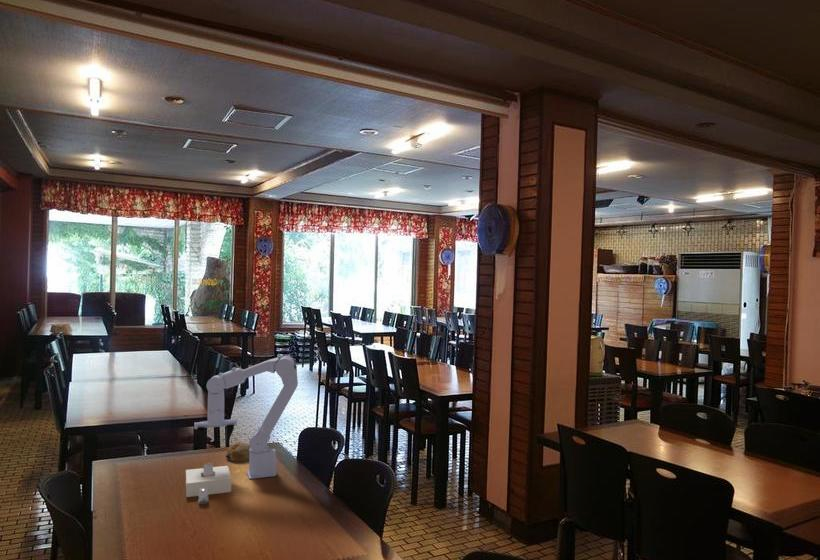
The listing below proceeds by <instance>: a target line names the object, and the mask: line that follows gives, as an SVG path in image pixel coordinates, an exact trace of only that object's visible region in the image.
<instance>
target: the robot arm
mask: <svg viewBox="0 0 820 560" xmlns="http://www.w3.org/2000/svg"><path fill="white" fill-rule="evenodd" d="M266 372H268V373H270V374H275V373H276V374H277V375H278V377H280V379H281V382H282V384H283V386H282V388H281V390H280V392H279V394H278V395H277V397H276V399H275V400H274V402H273V404H272V406H271V408H270V409H269V410H268V413H267V414H266V417H265V418H264V420H263V422H262V424H261V425H260V427H259V428H258V429H256V430H255V431H254V432H253V434H252V437H251V438H250V439H249V442H248V444H249V447H250V449H249V460H248V462H249V463H248V464H249V467H248V468H249V470H247V471H246V473H247V476H248V478H249V479H260V478H269V477H270V478H271V477H276V476H277V451H276V448H270V445H269V444H268V443H270V439H271V434H272V432H273V430H274V429H275V427H276V425H277V423H278V422H279V420H280V418H281V416H282V414H283V413H284V410H285V409H286V408H287V405H288V404H289V402H290V400H291V399H292V397H293V395H294V394H295V393H294V392H296V390H297V388H298V384H299V381H298V380H299V379H298V366H297V363H296V361H295V360H294V358H293V356H291V355H283V356H280V357H279V356H278V357H274V358H271V359H270V358H269V359H268V360H265V361H262V362H260V363H257V364H254V365H251V366H250V367H247V368H245V369H243V368H241V367H235V366H234V367H231V370H229V371H226V372H220V373H218V374H217V375H213V376H212V377H211V378H210V379H208V380H207V382H206V385H205V386H206V389H207V420H203V421H199V422H198V421H197V422H195V421H194V425H193V426H194V430H197V433H198V435H199V438H200V439H201V442H202V449H203V450H205V449H206V428H208V429H209V428H220V427H225V447H226V448H228V447H229V442H230V439H231V436H232V434H233V432H234V430H235V427H238V420H237V419H235V418H234V419H225V389H227V390H228V389H230V388H233V387H235V386H238V385H241V384H244V383H245V381H246V379H248V378H250V377H253V376H256V375H259V374H262V373H266Z"/></svg>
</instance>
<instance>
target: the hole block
mask: <svg viewBox="0 0 820 560" xmlns="http://www.w3.org/2000/svg"><path fill="white" fill-rule="evenodd" d="M201 488H208V496H209V495H216V494H217V495H218V494H225V493H231V492H232V475H231V472H230V469H229V465H220V466H213V476H207V477H204V467H202V468H201V467H200V468H193V469H192V468H191V469H185V493H186V498H191V497H192V498H193V497H198V490H199V489H201Z"/></svg>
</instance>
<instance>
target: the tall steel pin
mask: <svg viewBox="0 0 820 560" xmlns="http://www.w3.org/2000/svg"><path fill="white" fill-rule="evenodd" d="M213 467H214V463H213V462H205V463H204V464H203V468H204V477H207V476H213Z"/></svg>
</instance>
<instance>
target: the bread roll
mask: <svg viewBox="0 0 820 560" xmlns="http://www.w3.org/2000/svg"><path fill="white" fill-rule="evenodd" d="M249 449H250V447H249V443H247V442H242V441H241V442H237V443H234V444H233V445H231V446H230V447H229V448H228V449H227V451H226V455H225V458H227V459H229V460H228V461H230V460H231V462H235V461H238V462H247V461H249Z"/></svg>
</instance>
